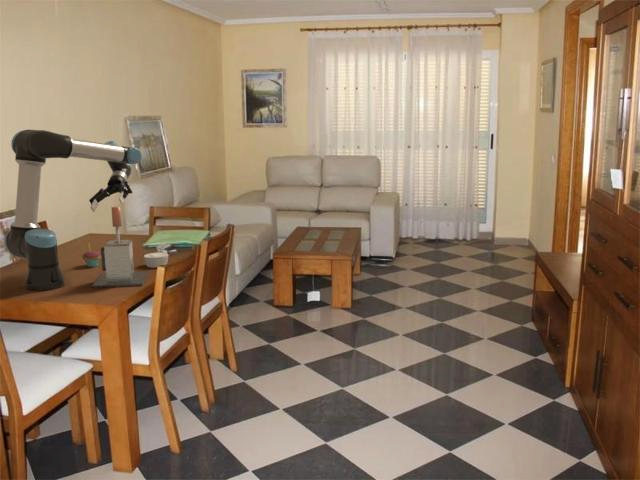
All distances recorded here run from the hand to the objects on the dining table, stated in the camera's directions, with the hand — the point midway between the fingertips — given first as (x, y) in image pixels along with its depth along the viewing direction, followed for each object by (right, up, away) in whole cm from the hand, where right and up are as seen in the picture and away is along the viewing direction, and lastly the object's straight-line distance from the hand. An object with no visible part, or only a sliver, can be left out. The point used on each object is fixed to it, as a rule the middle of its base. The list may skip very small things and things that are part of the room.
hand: (106, 205), depth 269 cm
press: (+8, -33, -6) cm, 34 cm away
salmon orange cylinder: (+8, -25, -7) cm, 27 cm away
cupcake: (-14, -28, +20) cm, 37 cm away
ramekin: (+17, -28, +21) cm, 38 cm away
